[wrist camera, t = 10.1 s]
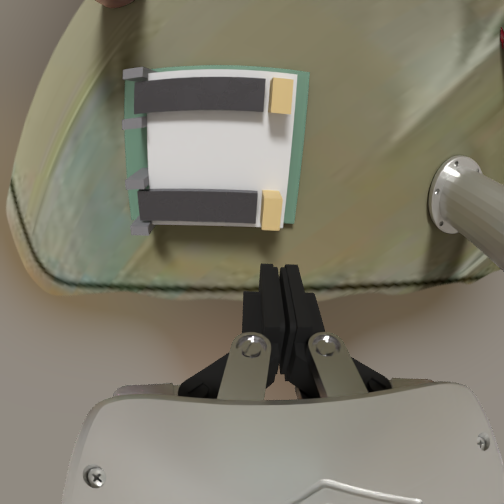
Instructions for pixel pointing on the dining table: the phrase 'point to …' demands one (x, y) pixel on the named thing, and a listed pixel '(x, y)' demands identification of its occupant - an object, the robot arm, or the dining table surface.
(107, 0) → the beverage can
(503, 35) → the decorative bird figurine
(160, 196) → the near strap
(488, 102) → the dining table surface
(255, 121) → the board
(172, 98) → the strap
